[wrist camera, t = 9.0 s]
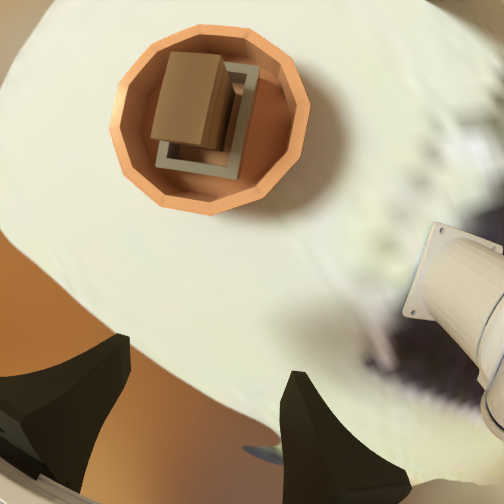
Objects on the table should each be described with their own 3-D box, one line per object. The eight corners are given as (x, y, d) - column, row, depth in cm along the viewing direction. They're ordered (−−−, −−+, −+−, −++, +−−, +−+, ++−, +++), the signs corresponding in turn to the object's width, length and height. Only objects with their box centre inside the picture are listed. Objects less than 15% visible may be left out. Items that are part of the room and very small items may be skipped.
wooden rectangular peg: (235, 93, 17) (220, 55, 10) (222, 152, 18) (200, 144, 11) (202, 88, 17) (170, 51, 10) (189, 146, 18) (150, 138, 11)
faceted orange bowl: (311, 64, 16) (322, 43, 13) (279, 217, 20) (284, 230, 16) (156, 46, 16) (136, 25, 12) (127, 189, 19) (100, 196, 16)
